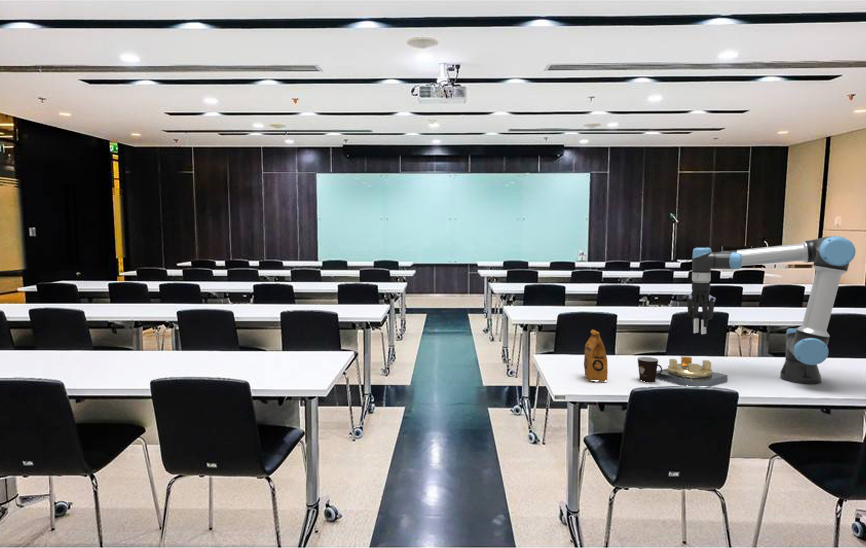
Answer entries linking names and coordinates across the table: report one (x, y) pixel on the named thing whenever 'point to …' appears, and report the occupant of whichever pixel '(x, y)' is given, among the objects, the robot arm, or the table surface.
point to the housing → (692, 379)
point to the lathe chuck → (690, 368)
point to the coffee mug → (648, 368)
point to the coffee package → (595, 358)
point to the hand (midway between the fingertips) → (699, 333)
